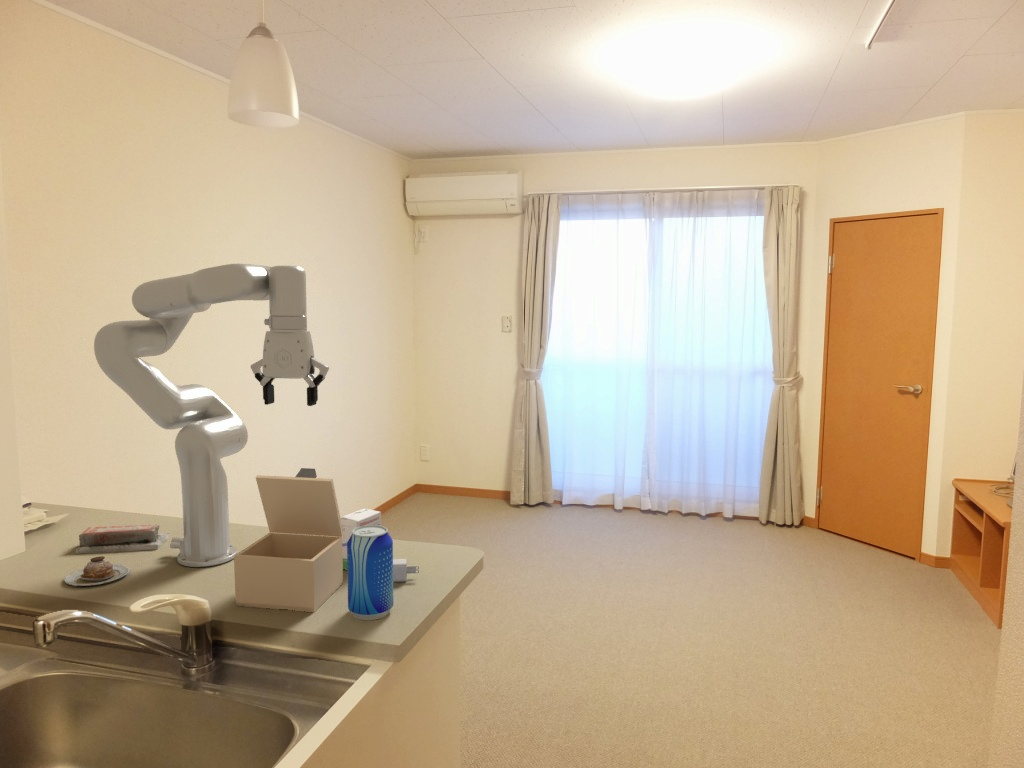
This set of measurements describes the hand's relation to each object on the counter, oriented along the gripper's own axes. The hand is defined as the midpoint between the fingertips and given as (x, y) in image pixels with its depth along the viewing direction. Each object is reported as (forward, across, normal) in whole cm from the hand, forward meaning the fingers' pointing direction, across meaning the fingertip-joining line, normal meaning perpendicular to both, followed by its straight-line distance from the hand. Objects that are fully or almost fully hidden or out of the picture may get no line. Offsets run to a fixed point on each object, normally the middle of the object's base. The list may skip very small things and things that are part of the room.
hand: (290, 404), depth 154 cm
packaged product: (+37, -47, +7) cm, 60 cm away
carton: (+36, +6, -14) cm, 39 cm away
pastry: (+37, -38, -13) cm, 55 cm away
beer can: (+36, +24, -19) cm, 48 cm away
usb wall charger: (+37, +25, -2) cm, 45 cm away
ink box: (+36, +14, +4) cm, 39 cm away
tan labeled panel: (+20, +6, -9) cm, 23 cm away
